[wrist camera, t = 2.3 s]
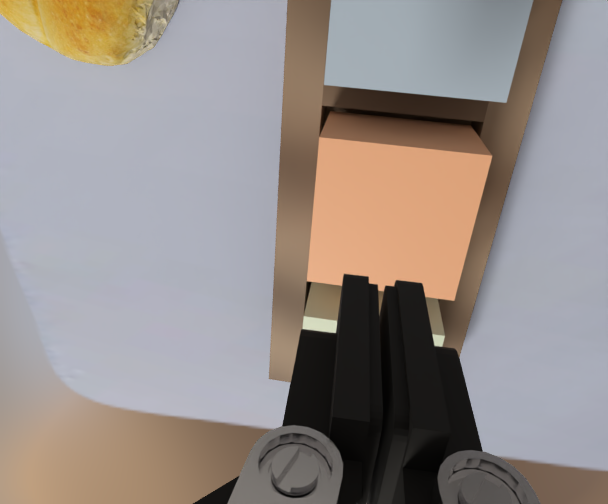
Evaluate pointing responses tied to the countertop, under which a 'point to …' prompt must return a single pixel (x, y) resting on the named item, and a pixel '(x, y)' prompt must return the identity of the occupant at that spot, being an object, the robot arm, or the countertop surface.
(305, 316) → the sage button
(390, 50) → the slate button
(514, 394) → the countertop surface
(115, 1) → the bread roll
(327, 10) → the wooden tray
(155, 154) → the countertop surface
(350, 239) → the orange block
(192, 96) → the countertop surface
